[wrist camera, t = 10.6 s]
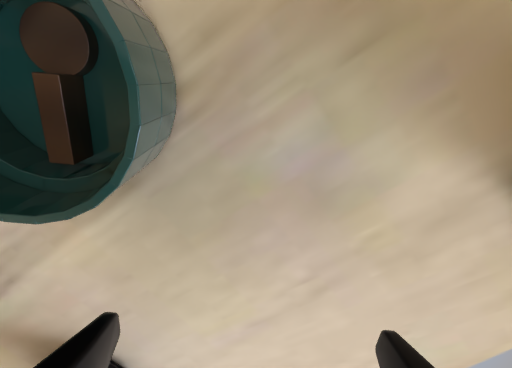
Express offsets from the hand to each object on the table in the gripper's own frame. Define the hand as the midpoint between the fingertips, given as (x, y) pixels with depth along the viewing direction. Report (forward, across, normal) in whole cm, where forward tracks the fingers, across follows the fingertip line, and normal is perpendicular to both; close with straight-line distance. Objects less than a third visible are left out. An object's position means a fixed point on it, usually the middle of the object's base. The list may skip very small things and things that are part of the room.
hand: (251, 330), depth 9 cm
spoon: (+11, +12, -6) cm, 18 cm away
